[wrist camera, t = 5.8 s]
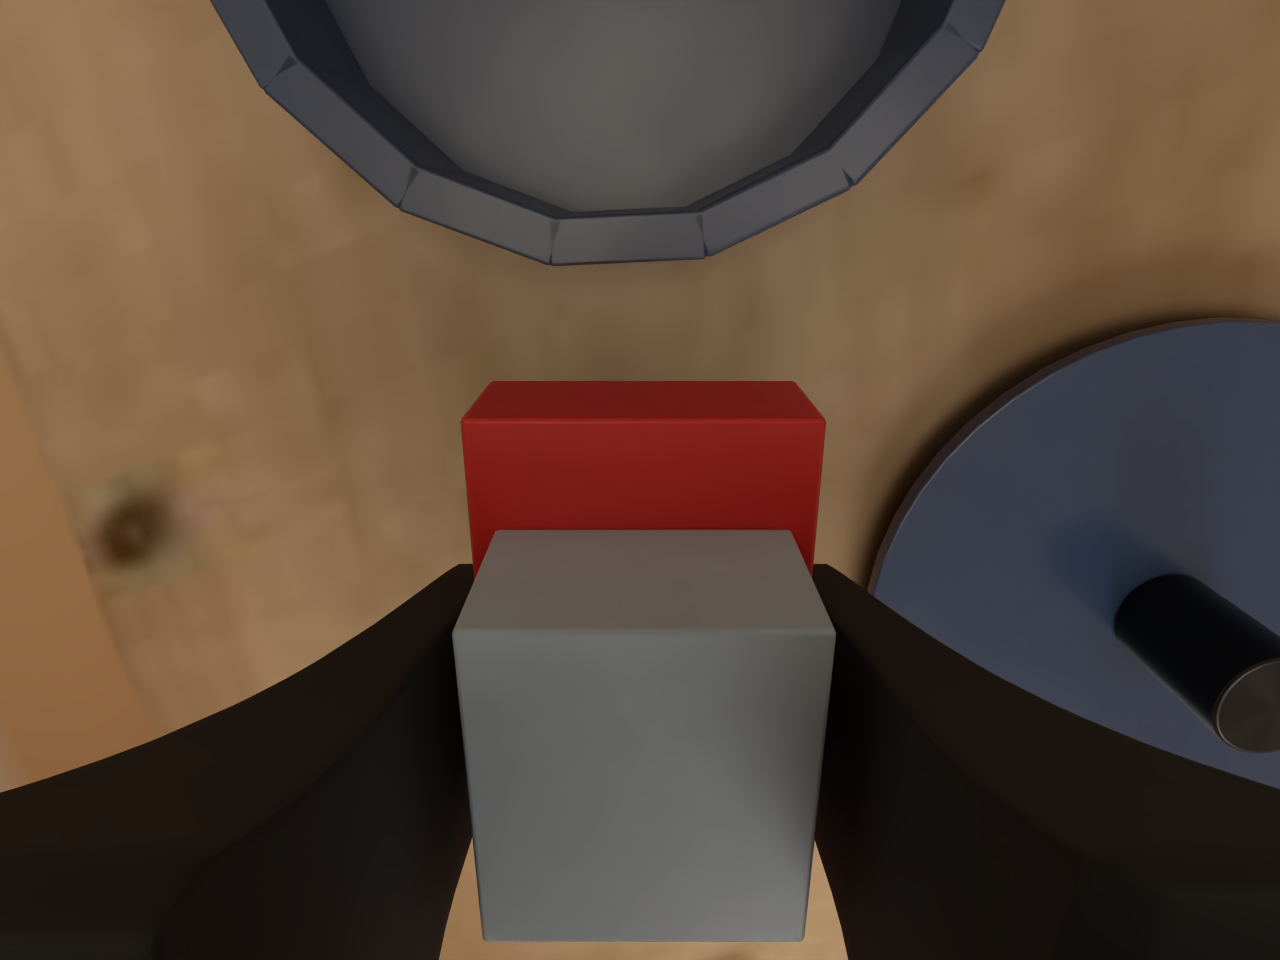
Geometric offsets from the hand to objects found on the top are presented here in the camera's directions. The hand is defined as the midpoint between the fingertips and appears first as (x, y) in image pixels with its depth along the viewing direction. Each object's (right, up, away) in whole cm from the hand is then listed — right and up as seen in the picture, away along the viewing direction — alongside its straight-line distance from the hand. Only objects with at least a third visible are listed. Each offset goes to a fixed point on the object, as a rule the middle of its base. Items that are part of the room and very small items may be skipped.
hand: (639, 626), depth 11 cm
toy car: (0, 0, +1) cm, 1 cm away
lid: (+13, -1, +9) cm, 16 cm away
